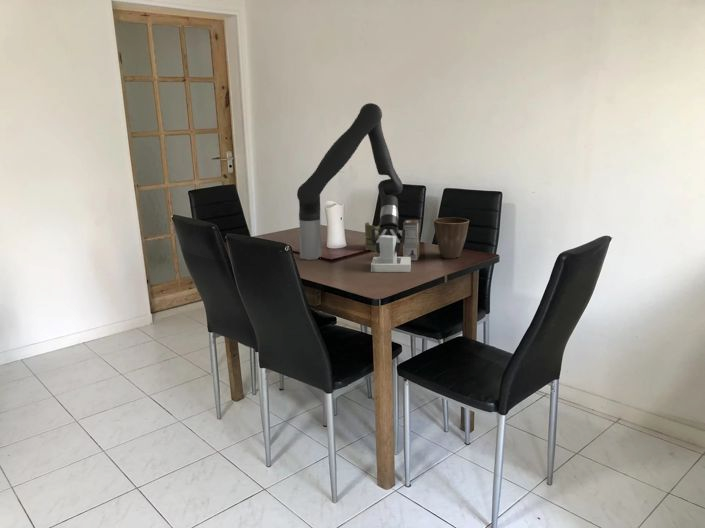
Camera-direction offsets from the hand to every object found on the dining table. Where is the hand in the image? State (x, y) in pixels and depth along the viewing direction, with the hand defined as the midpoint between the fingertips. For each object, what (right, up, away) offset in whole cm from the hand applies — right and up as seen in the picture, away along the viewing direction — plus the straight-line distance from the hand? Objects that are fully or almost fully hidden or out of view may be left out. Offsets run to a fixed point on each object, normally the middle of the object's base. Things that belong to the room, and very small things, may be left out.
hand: (387, 252), depth 224 cm
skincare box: (0, -5, +3) cm, 6 cm away
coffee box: (+11, -2, +18) cm, 22 cm away
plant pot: (+28, -2, +18) cm, 34 cm away
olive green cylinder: (-2, +2, +38) cm, 38 cm away
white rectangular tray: (+2, -6, +3) cm, 7 cm away
